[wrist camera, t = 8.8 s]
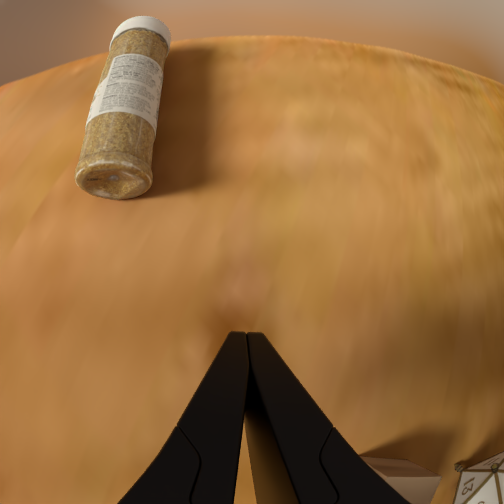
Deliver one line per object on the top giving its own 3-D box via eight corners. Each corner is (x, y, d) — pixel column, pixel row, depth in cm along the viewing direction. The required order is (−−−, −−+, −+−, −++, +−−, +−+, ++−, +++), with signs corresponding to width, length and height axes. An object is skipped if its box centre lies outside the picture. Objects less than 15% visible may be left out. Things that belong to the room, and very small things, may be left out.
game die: (441, 454, 19) (539, 393, 13) (481, 510, 15) (576, 462, 9) (389, 524, 14) (523, 476, 8) (438, 583, 9) (560, 548, 3)
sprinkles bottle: (83, 203, 18) (116, 58, 21) (155, 202, 19) (170, 56, 22) (62, 164, 13) (112, 15, 17) (151, 161, 14) (173, 13, 18)
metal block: (384, 509, 14) (414, 533, 11) (332, 508, 14) (357, 538, 11) (406, 459, 16) (442, 476, 12) (355, 455, 16) (387, 476, 12)
